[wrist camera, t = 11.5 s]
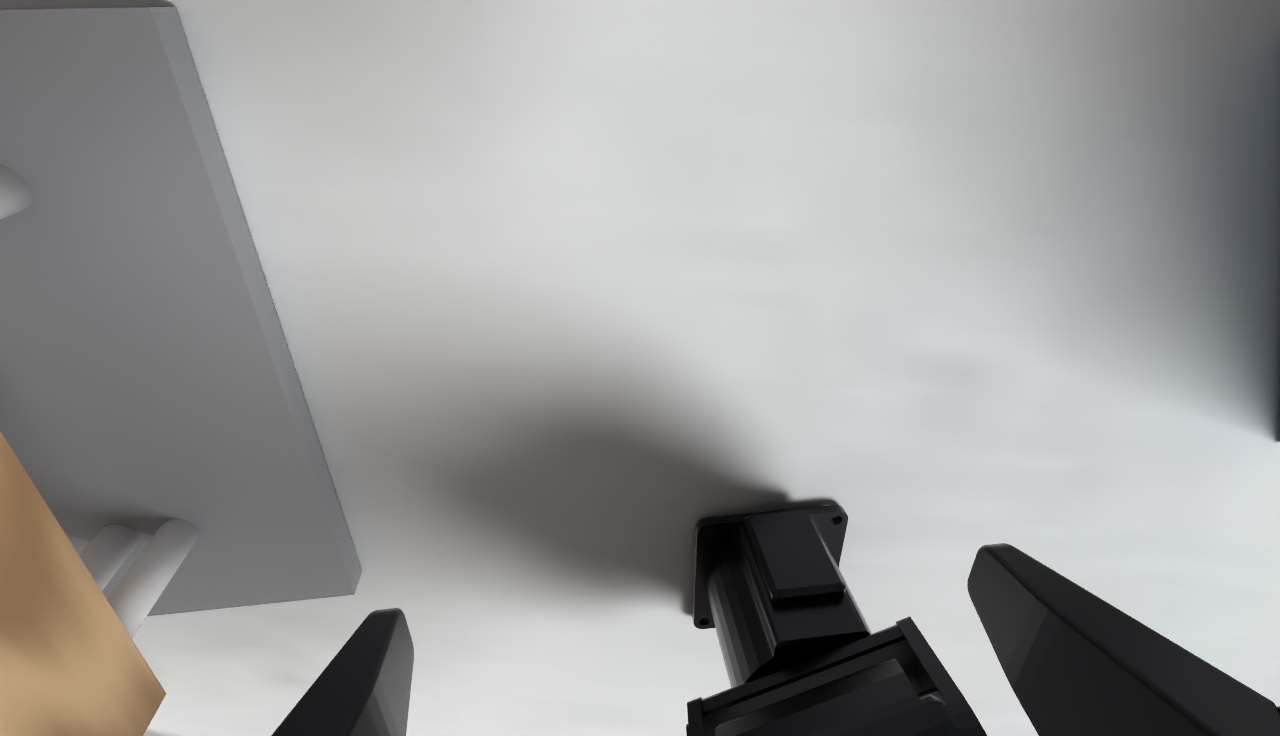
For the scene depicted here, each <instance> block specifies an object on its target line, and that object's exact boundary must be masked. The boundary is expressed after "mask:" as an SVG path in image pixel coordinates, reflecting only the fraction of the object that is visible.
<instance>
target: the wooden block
mask: <svg viewBox="0 0 1280 736" xmlns="http://www.w3.org/2000/svg"><path fill="white" fill-rule="evenodd" d="M165 695H166V692H165V691H164V689H163V688H162V686H161V685H160V683H159V681H158V680H157V678H156V677H155V675H154V673H153V672H152V670H151V669H150V667H149V666H148V664H147V662H146V661H145V659H144V658H143V656H142V654H141V653H140V651H139V650H138V648H137V647H136V645H135V643H134V642H133V640H132V639H131V637H130V635H129V634H128V632H127V631H126V629H125V628H124V626H123V624H122V623H121V621H120V620H119V618H118V617H117V615H116V613H115V612H114V610H113V609H112V607H111V605H110V604H109V602H108V601H107V599H106V598H105V596H104V594H103V593H102V591H101V590H100V588H99V586H98V585H97V583H96V582H95V580H94V579H93V577H92V575H91V574H90V572H89V571H88V569H87V568H86V566H85V564H84V563H83V561H82V560H81V558H80V556H79V555H78V553H77V552H76V550H75V549H74V547H73V545H72V544H71V542H70V541H69V539H68V537H67V536H66V534H65V533H64V531H63V530H62V528H61V526H60V525H59V523H58V522H57V520H56V518H55V517H54V515H53V514H52V512H51V511H50V509H49V507H48V506H47V504H46V503H45V501H44V500H43V498H42V496H41V495H40V493H39V492H38V490H37V488H36V487H35V485H34V484H33V482H32V481H31V479H30V477H29V476H28V474H27V473H26V471H25V469H24V468H23V466H22V465H21V463H20V462H19V460H18V458H17V457H16V455H15V454H14V452H13V450H12V449H11V447H10V446H9V444H8V443H7V441H6V439H5V438H4V436H3V435H2V433H1V432H0V736H143V735H144V733H145V731H146V729H147V727H148V726H149V724H150V722H151V720H152V718H153V717H154V715H155V713H156V711H157V709H158V708H159V706H160V704H161V702H162V700H163V699H164V697H165Z"/></svg>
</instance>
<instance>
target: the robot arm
mask: <svg viewBox="0 0 1280 736" xmlns="http://www.w3.org/2000/svg"><path fill="white" fill-rule="evenodd" d="M835 516H837V517H835ZM833 517H835V518H833ZM847 521H848V516H847V514H846V512H845V511H844V509H843V508H842V507H841V506H839V505H831V506H821V507H811V508H800V509H790V510H780V511H770V512H760V513H750V514H739V515H729V516H719V517H709V518H704V519H702V520H700V521H699V522H698V523H697V524H696V527H695V552H694V578H693V604H692V618H693V622H694V626H695V627H696V628H699V629H707V628H716V631H717V635H718V639H719V642H720V646H721V650H722V654H723V658H724V661H725V665H726V669H727V673H728V677H729V680H730V684H731V689H728V690H726V691H723V692H721V693H718V694H715V695H713V696H710V697H708V698H705V699H702V698H701V697H700V698H698V699H695V700H692V701H690V702H688V703H687V709H688V724H687V725H686V730H687V736H987V735H986V733H985V731H984V729H983V728H982V726H981V724H980V722H979V721H978V719H977V717H976V716H975V714H974V712H973V710H972V709H971V707H970V706H969V704H968V703H967V701H966V699H965V698H964V696H963V695H962V693H961V692H960V690H959V689H958V687H957V686H956V684H955V683H954V681H953V680H952V678H951V677H950V675H949V674H948V672H947V671H946V669H945V668H944V666H943V665H942V663H941V662H940V661H939V659H938V658H937V656H936V655H935V653H934V652H933V650H932V649H931V647H930V646H929V644H928V643H927V641H926V640H925V638H924V637H923V635H922V634H921V632H920V631H919V629H918V628H917V626H916V625H915V623H914V622H913V620H912V619H911V617H907V618H905V619H902V620H900V621H897V622H896V625H894V626H892V627H889V628H887V629H884V630H881V631H879V632H876V633H874V634H872V633H871V631H870V629H869V627H868V625H867V623H866V621H865V619H864V618H863V616H862V614H861V612H860V610H859V608H858V606H857V604H856V602H855V600H854V598H853V596H852V594H851V592H850V590H849V588H848V586H847V584H846V582H845V580H844V578H843V576H842V574H841V572H840V570H839V568H838V567H839V562H840V557H841V552H842V547H843V542H844V537H845V532H846V526H847ZM707 529H711V530H709V531H705V530H707ZM968 592H969V595H970V598H971V600H972V602H973V604H974V607H975V609H976V611H977V613H978V615H979V618H980V620H981V622H982V624H983V626H984V629H985V631H986V633H987V635H988V637H989V640H990V642H991V644H992V646H993V648H994V651H995V653H996V655H997V657H998V659H999V662H1000V664H1001V666H1002V668H1003V670H1004V673H1005V675H1006V677H1007V679H1008V681H1009V683H1010V685H1011V687H1012V689H1013V691H1014V692H1015V694H1016V696H1017V698H1018V700H1019V702H1020V703H1021V705H1022V707H1023V709H1024V710H1025V712H1026V714H1027V716H1028V717H1029V719H1030V721H1031V723H1032V724H1033V726H1034V728H1035V730H1036V731H1037V733H1038V735H1039V736H1280V707H1276V705H1275V704H1274V703H1273V702H1272V701H1271V700H1269V699H1267V698H1266V697H1264V696H1262V695H1261V694H1259V693H1257V692H1256V691H1254V690H1252V689H1251V688H1249V687H1247V686H1246V685H1244V684H1242V683H1241V682H1239V681H1237V680H1236V679H1234V678H1232V677H1231V676H1229V675H1227V674H1226V673H1224V672H1222V671H1220V670H1219V669H1217V668H1215V667H1214V666H1212V665H1210V664H1209V663H1207V662H1205V661H1204V660H1202V659H1200V658H1199V657H1197V656H1195V655H1194V654H1192V653H1190V652H1189V651H1187V650H1185V649H1184V648H1182V647H1180V646H1179V645H1177V644H1175V643H1174V642H1172V641H1170V640H1169V639H1167V638H1165V637H1164V636H1162V635H1160V634H1159V633H1157V632H1155V631H1154V630H1152V629H1150V628H1149V627H1147V626H1145V625H1144V624H1142V623H1140V622H1139V621H1137V620H1135V619H1134V618H1132V617H1130V616H1129V615H1127V614H1125V613H1124V612H1122V611H1120V610H1119V609H1117V608H1115V607H1114V606H1112V605H1110V604H1109V603H1107V602H1105V601H1104V600H1102V599H1100V598H1099V597H1097V596H1095V595H1094V594H1092V593H1090V592H1089V591H1087V590H1085V589H1084V588H1082V587H1080V586H1079V585H1077V584H1075V583H1074V582H1072V581H1070V580H1069V579H1067V578H1065V577H1064V576H1062V575H1060V574H1059V573H1057V572H1055V571H1054V570H1052V569H1050V568H1049V567H1047V566H1045V565H1044V564H1042V563H1040V562H1039V561H1037V560H1035V559H1034V558H1032V557H1030V556H1029V555H1027V554H1025V553H1023V552H1022V551H1020V550H1018V549H1017V548H1015V547H1013V546H1011V545H1009V544H1004V543H1001V544H992V545H984V546H982V547H981V548H980V549H979V550H978V552H977V555H976V558H975V561H974V563H973V566H972V569H971V572H970V575H969V578H968ZM413 661H414V648H413V642H412V639H411V636H410V632H409V629H408V625H407V622H406V619H405V615H404V613H403V611H402V610H401V609H399V608H393V609H384V610H376V611H373V612H372V613H370V614H369V615H368V616H367V618H366V619H365V620H364V621H363V623H362V624H361V625H360V626H359V627H358V629H357V630H356V631H355V632H354V634H353V635H352V636H351V637H350V639H349V640H348V641H347V642H346V644H345V645H344V646H343V647H342V649H341V650H340V651H339V652H338V654H337V655H336V656H335V657H334V659H333V660H332V661H331V662H330V663H329V665H328V666H327V667H326V668H325V670H324V671H323V672H322V673H321V675H320V676H319V677H318V678H317V680H316V681H315V682H314V683H313V685H312V686H311V687H310V688H309V690H308V691H307V692H306V693H305V695H304V696H303V697H302V698H301V700H300V701H299V702H298V703H297V704H296V706H295V707H294V708H293V709H292V711H291V712H290V713H289V714H288V716H287V717H286V718H285V719H284V721H283V722H282V723H281V724H280V726H279V727H278V728H277V729H276V731H275V732H274V733H273V734H272V736H406V728H407V719H408V709H409V699H410V690H411V680H412V671H413Z"/></svg>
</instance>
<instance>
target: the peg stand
mask: <svg viewBox="0 0 1280 736" xmlns="http://www.w3.org/2000/svg"><path fill="white" fill-rule="evenodd" d="M0 432H1V433H2V435H3V436H4V438H5V439H6V441H7V443H8V444H9V446H10V447H11V449H12V450H13V452H14V454H15V455H16V457H17V458H18V460H19V462H20V463H21V465H22V466H23V468H24V469H25V471H26V473H27V474H28V476H29V477H30V479H31V481H32V482H33V484H34V485H35V487H36V488H37V490H38V492H39V493H40V495H41V496H42V498H43V500H44V501H45V503H46V504H47V506H48V507H49V509H50V511H51V512H52V514H53V515H54V517H55V518H56V520H57V522H58V523H59V525H60V526H61V528H62V530H63V531H64V533H65V534H66V536H67V537H68V539H69V541H70V542H71V544H72V545H73V547H74V549H75V550H76V552H77V553H78V555H79V556H80V558H81V560H82V561H83V563H84V564H85V566H86V568H87V569H88V571H89V572H90V574H91V575H92V577H93V579H94V580H95V582H96V583H97V585H98V586H99V588H100V590H101V591H102V593H103V594H104V596H105V598H106V599H107V601H108V602H109V604H110V605H111V607H112V609H113V610H114V612H115V613H116V615H117V617H118V618H119V620H120V621H121V623H122V624H123V626H124V628H125V629H126V631H127V632H128V634H129V635H130V637H131V639H132V638H133V636H134V634H135V633H136V631H137V630H138V628H139V627H140V625H141V624H142V622H143V621H144V619H145V618H146V616H154V615H163V614H173V613H182V612H192V611H201V610H211V609H221V608H230V607H240V606H249V605H259V604H268V603H278V602H287V601H297V600H307V599H316V598H326V597H335V596H345V595H354V593H355V590H356V587H357V584H358V581H359V578H360V575H361V572H362V570H361V567H360V564H359V561H358V557H357V554H356V551H355V548H354V545H353V542H352V539H351V536H350V533H349V530H348V527H347V524H346V521H345V518H344V515H343V512H342V509H341V506H340V503H339V500H338V497H337V494H336V491H335V488H334V485H333V482H332V479H331V476H330V473H329V470H328V467H327V464H326V461H325V457H324V454H323V451H322V448H321V445H320V442H319V439H318V436H317V433H316V430H315V427H314V424H313V421H312V418H311V415H310V412H309V409H308V406H307V403H306V400H305V397H304V394H303V391H302V388H301V385H300V382H299V379H298V376H297V373H296V370H295V367H294V364H293V361H292V357H291V354H290V351H289V348H288V345H287V342H286V339H285V336H284V333H283V330H282V327H281V324H280V321H279V318H278V315H277V312H276V309H275V306H274V303H273V300H272V297H271V294H270V291H269V288H268V285H267V282H266V279H265V276H264V273H263V270H262V267H261V264H260V261H259V257H258V254H257V251H256V248H255V245H254V242H253V239H252V236H251V233H250V230H249V227H248V224H247V221H246V218H245V215H244V212H243V209H242V206H241V203H240V200H239V197H238V194H237V191H236V188H235V185H234V182H233V179H232V176H231V173H230V170H229V167H228V164H227V161H226V157H225V154H224V151H223V148H222V145H221V142H220V139H219V136H218V133H217V130H216V127H215V124H214V121H213V118H212V115H211V112H210V109H209V106H208V103H207V100H206V97H205V94H204V91H203V88H202V85H201V82H200V79H199V76H198V73H197V70H196V67H195V64H194V60H193V57H192V54H191V51H190V48H189V45H188V42H187V39H186V36H185V33H184V30H183V27H182V24H181V21H180V18H179V15H178V12H177V9H176V7H127V8H68V9H10V10H0Z"/></svg>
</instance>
